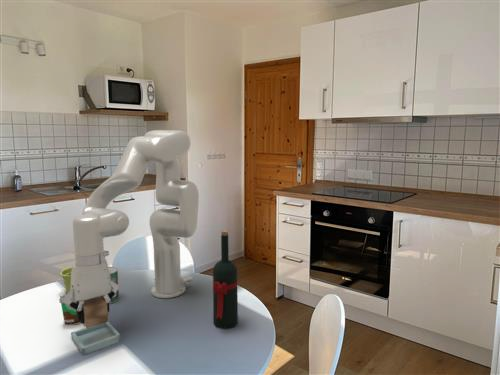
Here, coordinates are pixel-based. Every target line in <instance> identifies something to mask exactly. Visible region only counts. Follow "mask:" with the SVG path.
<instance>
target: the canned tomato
mask: <svg viewBox="0 0 500 375" xmlns="http://www.w3.org/2000/svg"><path fill="white" fill-rule="evenodd" d="M108 268H109V272H110V278H111V281H112V282H114V283H115V284H117V285H118V286H119V275H118V274H119V273H118V270H119V269H118V268H117V267H116V266H108ZM111 289H112V286H111ZM119 289H120V288H119ZM119 289H118V290H117V292H116V293H115V295H114V296H113V297H112V299H111V301H110V302H109V305H111V304H113V303H116V302H117V301H118V300H120V294H119V293H120V292H119V291H120V290H119ZM101 297H102V296H101ZM102 298H103V297H102Z"/></svg>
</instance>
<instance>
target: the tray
mask: <svg viewBox="0 0 500 375" xmlns="http://www.w3.org/2000/svg"><path fill="white" fill-rule="evenodd" d="M121 336H122V335H121V333H119V332H118V331H117V329H116V328H115V327H114V326H113V325H112V324H111V323H110V321H108V322H106V323H103V324H100V325H96V326H93V327H90V328H87V329H86V327H84V328H81V329H78V330H75V331H72V332H70V337H71V338H70V339H71V340H72V341H73V343H74V344H75V347H76V348H77V349H78V351H79V353H80V354H81V355H82V356H85V355H88V354H90V353H93V352H95V351H99V350H102V349H104V348H107V347H109V346H112V345H115V344H118V343H121V342H122V341H121V340H122V339H121V338H122V337H121Z"/></svg>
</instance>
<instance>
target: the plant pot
mask: <svg viewBox="0 0 500 375" xmlns="http://www.w3.org/2000/svg"><path fill="white" fill-rule="evenodd" d="M71 271H72V266H71V267H67V268H64V269H63V270H61V272H60V275H61V276H62V279H63V282H64V283H63V284H64V287H65V291H66V295H67V294H68V292H69V291H70V290H71Z"/></svg>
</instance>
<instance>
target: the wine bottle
mask: <svg viewBox="0 0 500 375" xmlns="http://www.w3.org/2000/svg"><path fill="white" fill-rule="evenodd" d="M228 233H229V230H223V229H222V231H221V235H220V238H221V239H220V240H221V242H220V245H221V246H220V250H221V253H220V255H221V259H220V260H219V261H217V262H216V263H215V265H214V266H213V269H212V296H213V297H212V298H213V300H212V301H213V304H212V307H213V309H212V311H213V314H212V315H213V316H212V318H213V322H212V323H213V324H212V325H214V326H215V328H217V329H221V330H229V329H232V328H233V329H234V328H235V327H236V326H237V325H238V323H239V322H238V321H239V319H238V318H239V314H238V313H239V312H238V311H239V310H238V309H239V308H238V306H239V305H238V304H239V302H238V300H239V299H238V298H239V297H238V296H239V295H238V267H237V265H236V264H235V263H234V262H233V261H231V260H229V257H230V256H229V234H228Z"/></svg>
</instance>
